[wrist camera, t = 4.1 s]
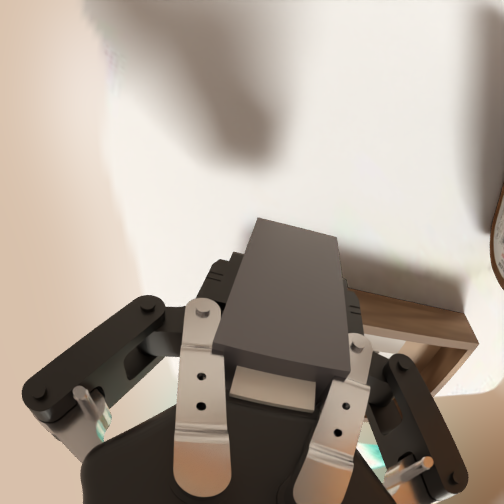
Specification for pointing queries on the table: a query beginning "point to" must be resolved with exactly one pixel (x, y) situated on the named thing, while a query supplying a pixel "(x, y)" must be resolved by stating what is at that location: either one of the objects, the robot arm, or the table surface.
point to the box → (417, 336)
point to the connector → (285, 319)
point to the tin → (498, 241)
